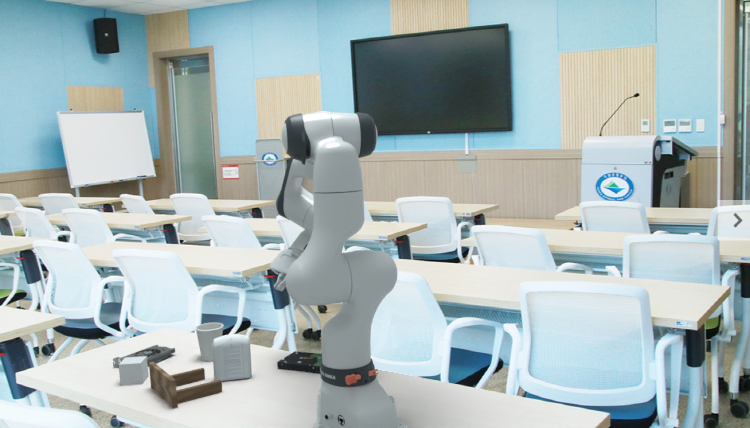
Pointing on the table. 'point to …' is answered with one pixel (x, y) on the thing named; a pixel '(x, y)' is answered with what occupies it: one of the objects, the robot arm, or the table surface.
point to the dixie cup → (208, 338)
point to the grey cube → (133, 370)
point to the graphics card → (149, 354)
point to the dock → (168, 383)
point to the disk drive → (301, 362)
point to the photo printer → (231, 357)
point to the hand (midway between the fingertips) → (277, 289)
